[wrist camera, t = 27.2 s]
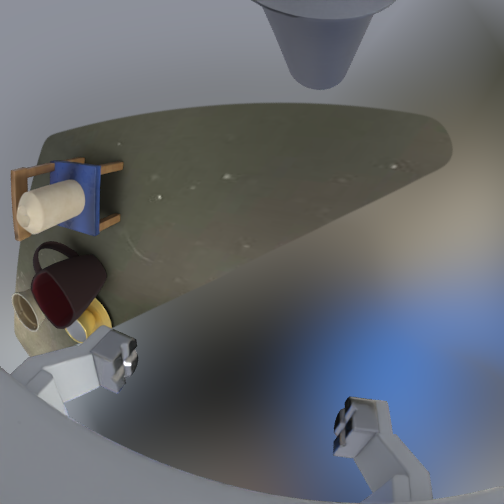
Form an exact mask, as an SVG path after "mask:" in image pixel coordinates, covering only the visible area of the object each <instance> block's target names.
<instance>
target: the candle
mask: <svg viewBox="0 0 504 504" xmlns="http://www.w3.org/2000/svg"><path fill="white" fill-rule="evenodd" d="M84 206H85V195H84V191H83V189H82V187H81V185H80V184H79V183H78V182H77V181H75V180H65V181H62V182H58V183H54V184H51V185H47V186H44V187H41V188H37V189H34V190H31V191H28V192H25V193H24V194H23V195H22V196H21V199H20V201H19V205H18V210H17V221H18V222H19V224H20V226H21V227H23V228H24V229H25V230H27V231H28V232H30V233H31V234H37V233H40V232H42V231H44V230H46V229H48V228H51V227H53V226H55V225H57V224H60V223H62V222H64V221H66V220H69V219H71V218H73V217H76V216H78V215H79V214H80V213H81V212H82V211H83V209H84Z"/></svg>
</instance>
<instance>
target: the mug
mask: <svg viewBox="0 0 504 504" xmlns="http://www.w3.org/2000/svg"><path fill="white" fill-rule="evenodd" d="M44 248H49V249H53V250H56V251H59V252H61V253H63V254H64V255H66V256H67V257H69V259H66V260H63V261H60V262H57V263H54V264H52V265H50V266H48V267H46V268H44V269H42V268H41V266H40V264H39V260H38V252H39V251H40V249H44ZM33 266H34V270H35V273H36V274H35V276H34V277H33V280H32V283H31V292H32V294H33V297H34V299H35V301H36V303H37V305H38V306H39V308H40V310H41V311H42V313H43V314H44V315H45V317H46V318H47V319H48V320H49V321H50V322H51V323H52V324H53V325H54V326H55V327H56V328H59V329H64V328H67V327H69V326H71V325H72V324H73V323H74V322H75V321H76V320H77V319H78V318H79V317H80V316H81V315H82V314H83V312H84V311H85V310H86V309H87V308H88V306H89V305H90V304H91V302H92V301H93V300H94V298H95V297H96V296H97V294H98V293H99V291H100V290H101V288H102V286H103V284H104V283H105V281H106V278H107V274H106V272H105V269H104V267H103V266H102V264H101V263H100V261H99V260H98V259H97V258H96V257H95V256H94V255H92V254H90V255H82V256H79V255H78V254H77V253H76V252H75V251H74V250H72V249H71V248H69V247H67V246H66V245H64V244H61V243H58V242H54V241H49V242H45V243H43V244H41V245H40V246H39V247H38V248H37V249H36V251H35V254H34V257H33Z"/></svg>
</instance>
